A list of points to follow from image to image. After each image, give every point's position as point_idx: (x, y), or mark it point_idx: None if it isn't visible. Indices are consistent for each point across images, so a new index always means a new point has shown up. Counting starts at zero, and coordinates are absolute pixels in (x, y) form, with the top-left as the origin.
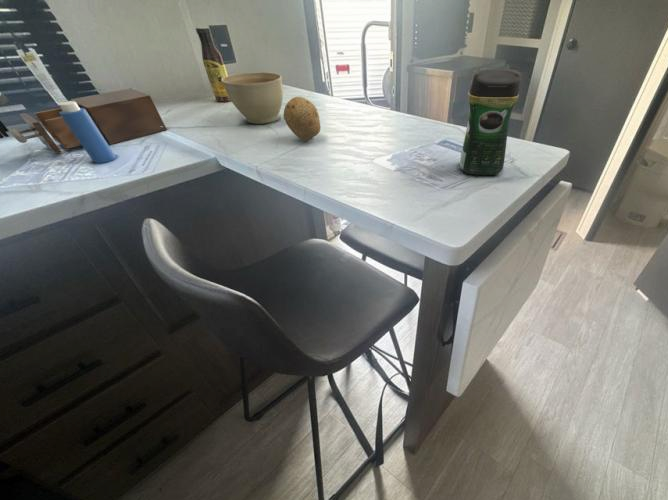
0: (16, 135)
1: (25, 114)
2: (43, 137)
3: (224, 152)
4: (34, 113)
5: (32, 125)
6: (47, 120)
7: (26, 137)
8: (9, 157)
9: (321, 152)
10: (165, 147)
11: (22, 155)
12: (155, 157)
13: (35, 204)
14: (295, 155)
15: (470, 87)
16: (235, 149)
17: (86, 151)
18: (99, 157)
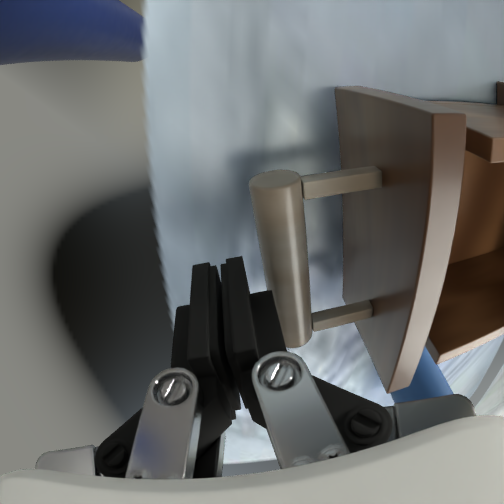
0: (289, 337)
1: (453, 177)
2: (365, 345)
3: (488, 390)
4: (490, 148)
5: (389, 332)
6: (441, 362)
7: (316, 328)
8: (160, 143)
9: (501, 411)
10: (490, 343)
11: (217, 152)
12: (449, 381)
13: (243, 457)
14: (491, 412)
15: None
16: (498, 385)
17: (391, 392)
18: None
